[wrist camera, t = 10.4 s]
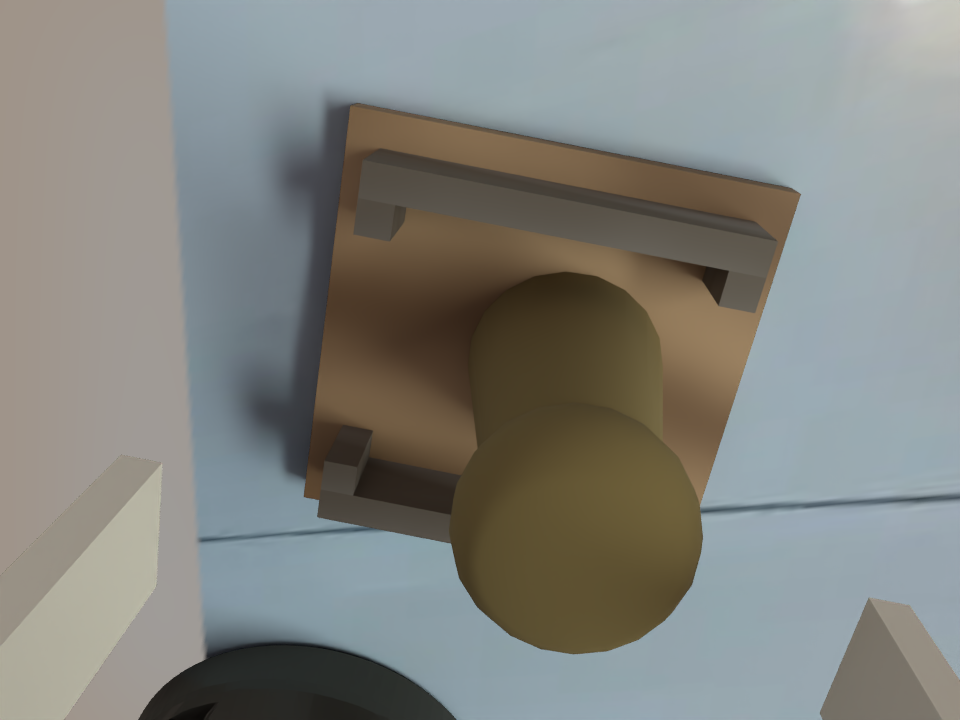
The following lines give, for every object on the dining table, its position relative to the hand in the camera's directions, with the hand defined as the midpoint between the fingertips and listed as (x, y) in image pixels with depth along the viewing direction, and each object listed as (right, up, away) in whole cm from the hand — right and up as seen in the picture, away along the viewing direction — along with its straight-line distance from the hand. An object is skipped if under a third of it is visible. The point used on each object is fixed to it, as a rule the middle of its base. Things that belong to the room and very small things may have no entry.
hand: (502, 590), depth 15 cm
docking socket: (+1, +5, +12) cm, 13 cm away
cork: (+2, +4, +11) cm, 12 cm away
